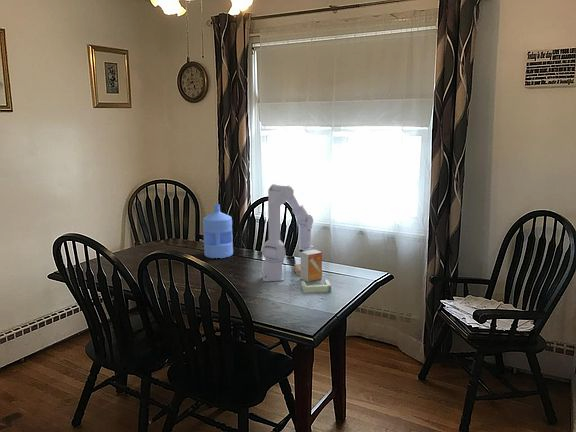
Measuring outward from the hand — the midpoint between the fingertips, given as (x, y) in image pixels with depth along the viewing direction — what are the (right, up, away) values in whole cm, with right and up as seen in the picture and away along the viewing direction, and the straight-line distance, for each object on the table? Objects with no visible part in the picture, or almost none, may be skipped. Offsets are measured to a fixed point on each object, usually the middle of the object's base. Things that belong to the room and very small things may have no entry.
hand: (305, 263), depth 248 cm
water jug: (-47, +3, +20) cm, 51 cm away
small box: (+2, -5, -19) cm, 20 cm away
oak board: (+1, -4, -9) cm, 10 cm away
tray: (+4, -8, -32) cm, 33 cm away
